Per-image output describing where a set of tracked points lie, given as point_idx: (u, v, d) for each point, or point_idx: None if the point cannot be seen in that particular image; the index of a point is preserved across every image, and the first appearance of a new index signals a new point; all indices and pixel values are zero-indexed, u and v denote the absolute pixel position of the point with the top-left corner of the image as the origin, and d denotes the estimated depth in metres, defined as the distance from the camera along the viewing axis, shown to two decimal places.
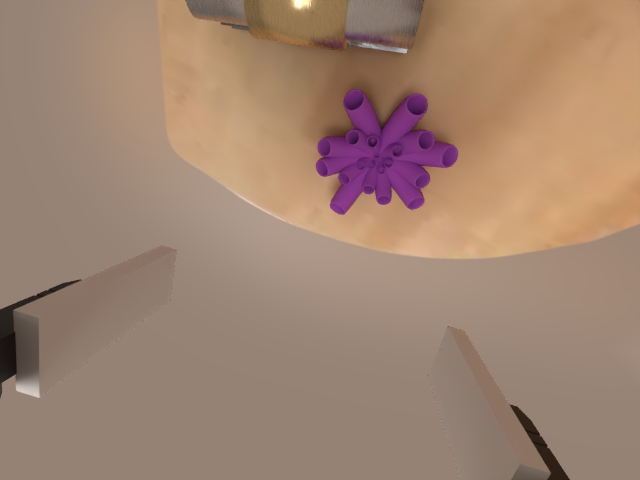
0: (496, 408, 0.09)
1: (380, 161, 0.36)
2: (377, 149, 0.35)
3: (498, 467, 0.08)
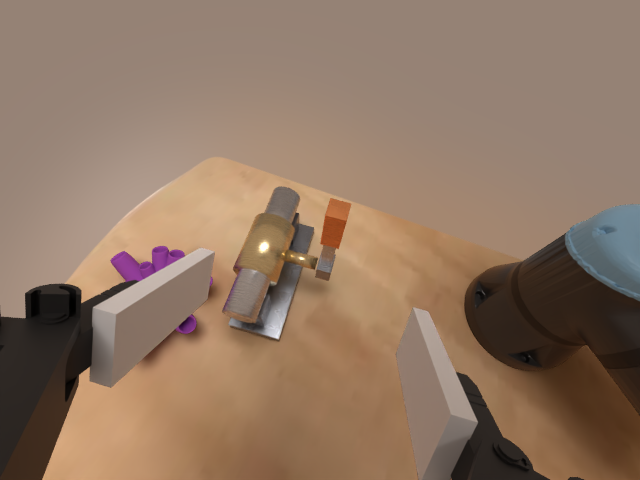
0: (441, 373, 0.10)
1: None
2: None
3: (437, 421, 0.09)
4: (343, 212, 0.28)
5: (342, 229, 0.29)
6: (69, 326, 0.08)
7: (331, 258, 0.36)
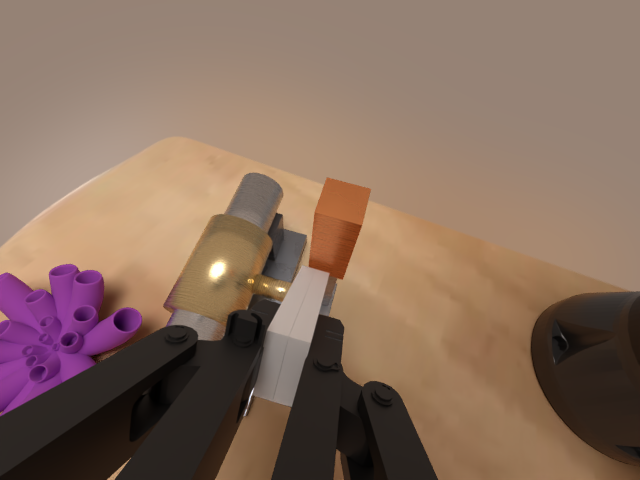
0: (304, 312, 0.12)
1: (46, 351, 0.26)
2: (61, 347, 0.26)
3: None
4: (354, 206, 0.13)
5: (351, 243, 0.14)
6: (251, 353, 0.09)
7: (329, 293, 0.20)
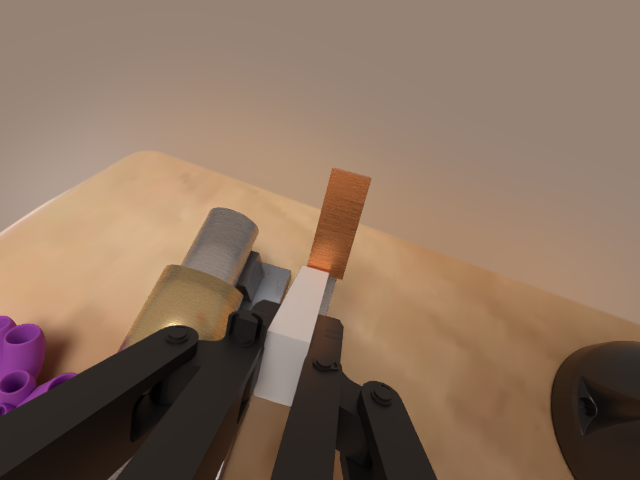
0: (304, 312, 0.12)
1: None
2: None
3: None
4: (361, 175, 0.16)
5: (359, 208, 0.16)
6: (252, 353, 0.09)
7: None
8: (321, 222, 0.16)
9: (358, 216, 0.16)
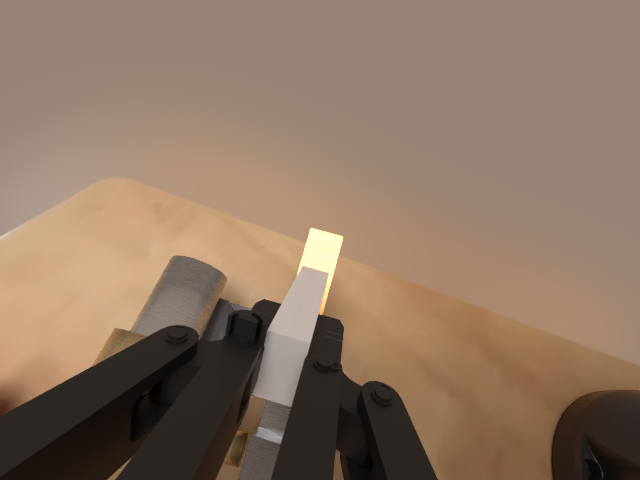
0: (304, 312, 0.12)
1: None
2: None
3: None
4: None
5: (333, 261, 0.18)
6: (252, 353, 0.09)
7: None
8: None
9: (333, 268, 0.18)
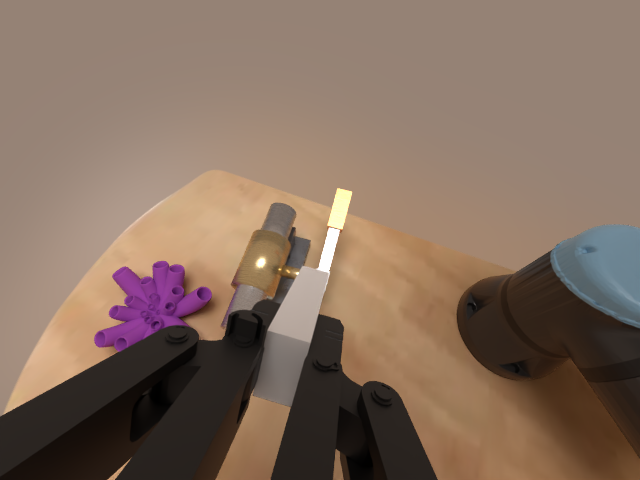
0: (304, 312, 0.12)
1: (152, 314, 0.43)
2: (163, 311, 0.42)
3: None
4: None
5: (348, 202, 0.42)
6: (252, 353, 0.09)
7: (332, 253, 0.41)
8: (333, 207, 0.42)
9: (347, 205, 0.42)
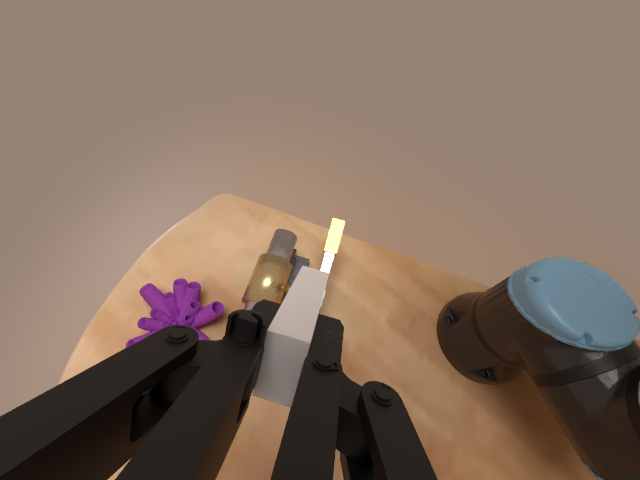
0: (304, 312, 0.12)
1: None
2: (182, 322, 0.49)
3: None
4: None
5: (341, 230, 0.49)
6: (252, 353, 0.09)
7: None
8: (329, 234, 0.49)
9: (341, 232, 0.49)
